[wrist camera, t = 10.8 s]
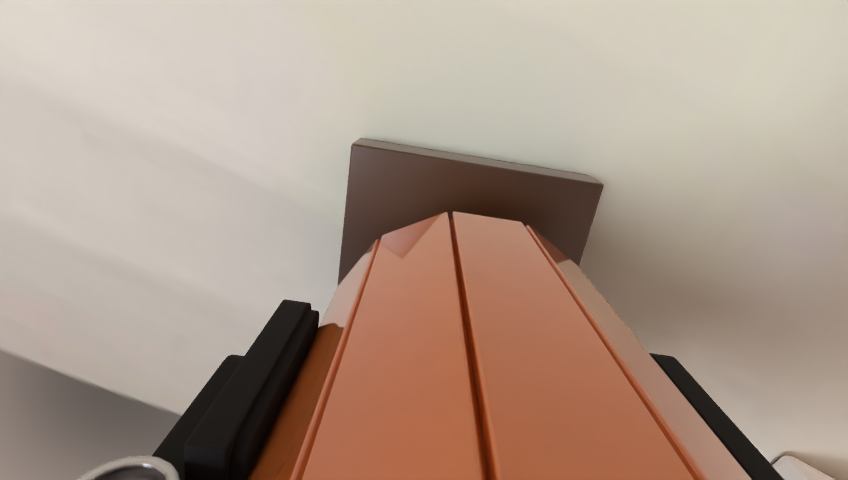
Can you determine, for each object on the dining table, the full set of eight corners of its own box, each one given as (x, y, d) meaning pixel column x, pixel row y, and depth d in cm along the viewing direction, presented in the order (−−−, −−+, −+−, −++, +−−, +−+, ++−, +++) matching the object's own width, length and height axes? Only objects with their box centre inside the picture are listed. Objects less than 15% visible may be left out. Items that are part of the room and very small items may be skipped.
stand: (359, 137, 15) (49, 356, 3) (587, 174, 15) (1186, 516, 3) (338, 336, 17) (136, 879, 5) (532, 365, 18) (736, 938, 6)
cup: (344, 193, 10) (2, 619, 2) (626, 237, 10) (1315, 773, 2) (322, 421, 12) (120, 1047, 4) (553, 453, 13) (768, 1097, 5)
